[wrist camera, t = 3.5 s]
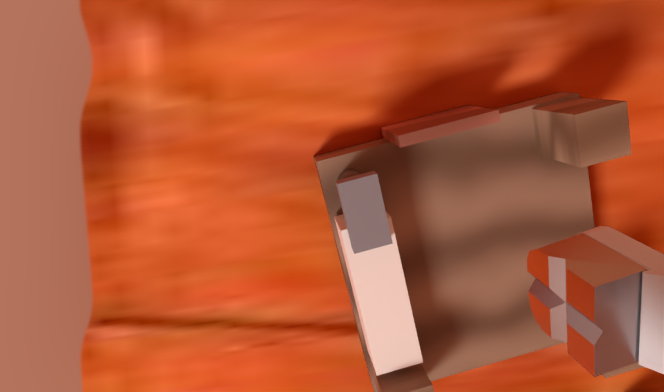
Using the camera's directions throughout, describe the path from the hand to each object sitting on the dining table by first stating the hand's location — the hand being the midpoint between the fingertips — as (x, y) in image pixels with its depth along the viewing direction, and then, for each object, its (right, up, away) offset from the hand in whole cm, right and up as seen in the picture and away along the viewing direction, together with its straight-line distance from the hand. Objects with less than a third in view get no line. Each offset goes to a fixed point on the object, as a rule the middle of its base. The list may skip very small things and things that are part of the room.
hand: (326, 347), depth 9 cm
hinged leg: (+3, -2, +29) cm, 30 cm away
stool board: (+11, -1, +33) cm, 35 cm away
